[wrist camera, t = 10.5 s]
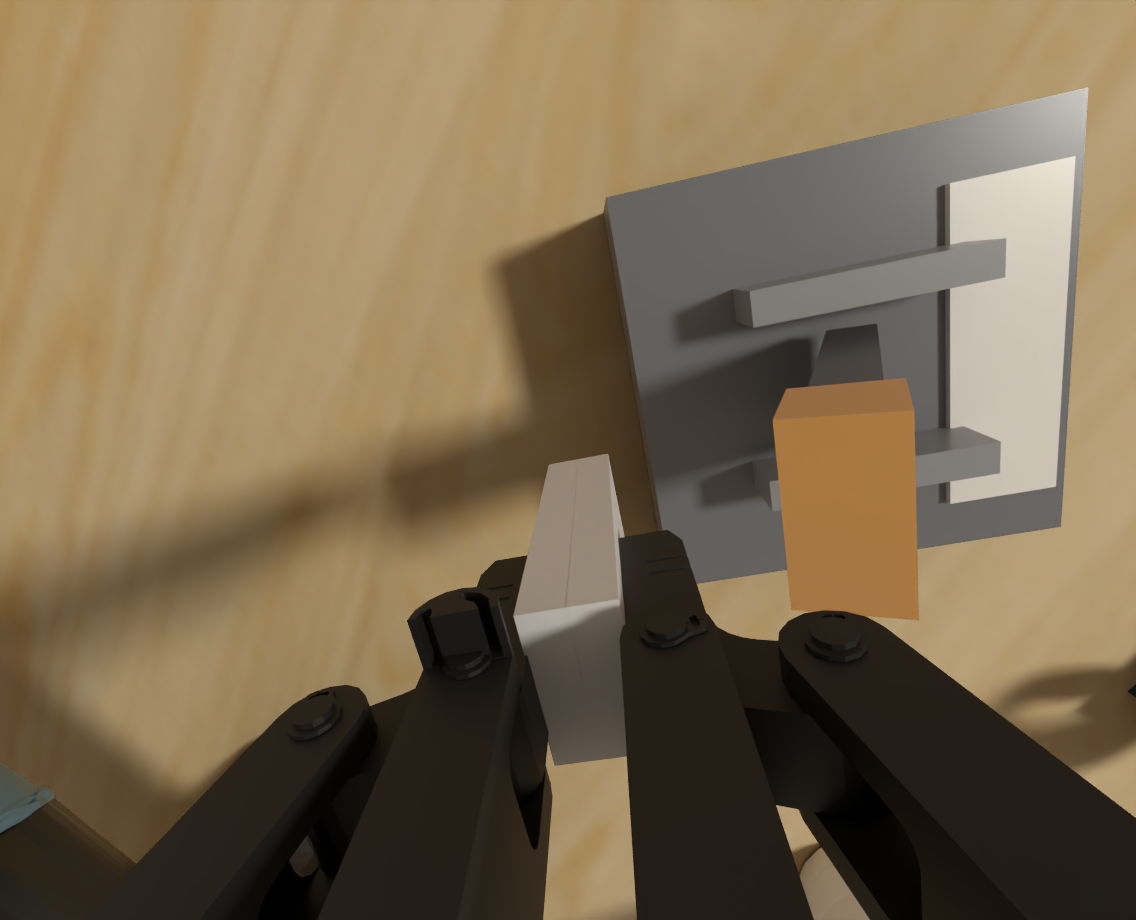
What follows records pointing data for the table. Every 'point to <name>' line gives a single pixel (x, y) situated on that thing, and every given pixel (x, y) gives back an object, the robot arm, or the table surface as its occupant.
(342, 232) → the table surface
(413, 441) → the table surface
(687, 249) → the box
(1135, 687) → the watch
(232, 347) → the table surface
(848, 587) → the lever
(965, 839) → the robot arm
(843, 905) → the bottle
